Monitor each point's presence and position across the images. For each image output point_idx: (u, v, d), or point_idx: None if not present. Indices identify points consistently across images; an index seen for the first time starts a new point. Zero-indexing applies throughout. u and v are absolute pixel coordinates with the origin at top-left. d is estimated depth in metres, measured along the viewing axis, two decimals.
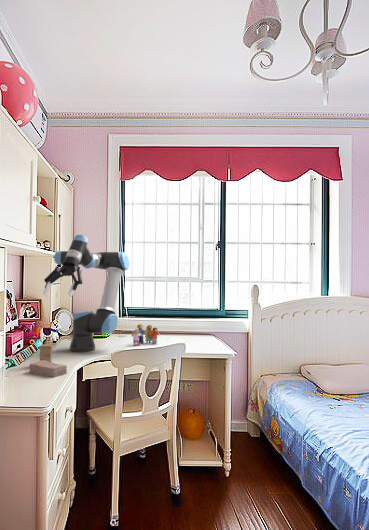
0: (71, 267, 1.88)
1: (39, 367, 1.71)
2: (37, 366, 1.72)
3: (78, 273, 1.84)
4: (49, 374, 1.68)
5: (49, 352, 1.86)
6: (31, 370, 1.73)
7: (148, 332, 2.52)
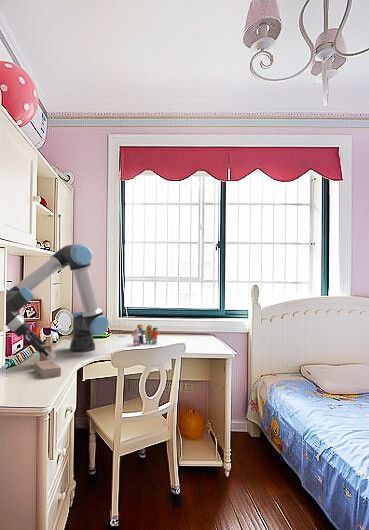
0: None
1: (37, 366, 1.72)
2: (37, 365, 1.73)
3: None
4: (41, 375, 1.66)
5: None
6: (34, 369, 1.76)
7: (148, 332, 2.52)
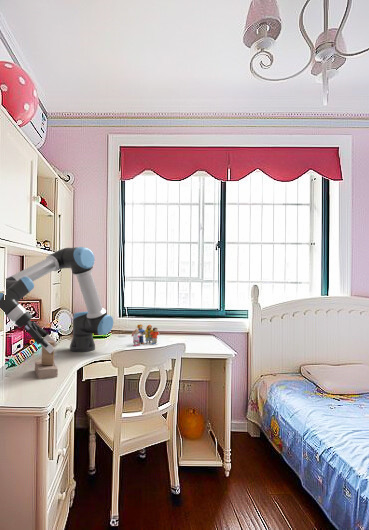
0: None
1: (36, 367, 1.72)
2: (36, 365, 1.73)
3: None
4: (37, 375, 1.66)
5: None
6: (35, 368, 1.76)
7: (148, 332, 2.52)
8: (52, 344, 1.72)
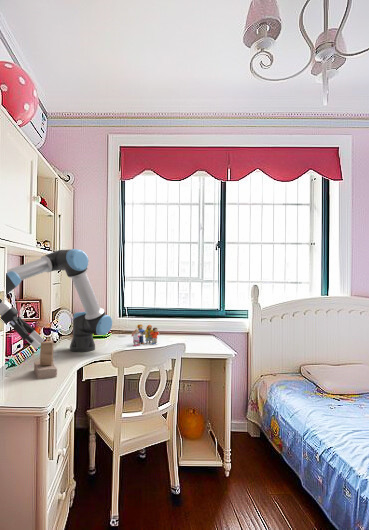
0: None
1: (35, 367, 1.72)
2: (35, 365, 1.73)
3: None
4: (37, 375, 1.66)
5: (50, 350, 1.71)
6: (34, 369, 1.76)
7: (148, 332, 2.52)
8: (50, 344, 1.72)
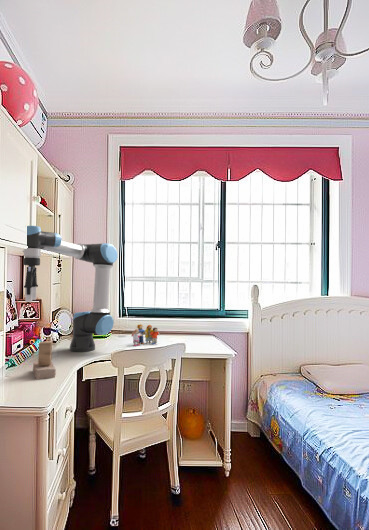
0: None
1: (34, 367, 1.71)
2: (34, 366, 1.73)
3: (26, 276, 1.76)
4: (35, 375, 1.65)
5: (48, 350, 1.71)
6: (33, 369, 1.76)
7: (148, 332, 2.52)
8: (49, 344, 1.71)
